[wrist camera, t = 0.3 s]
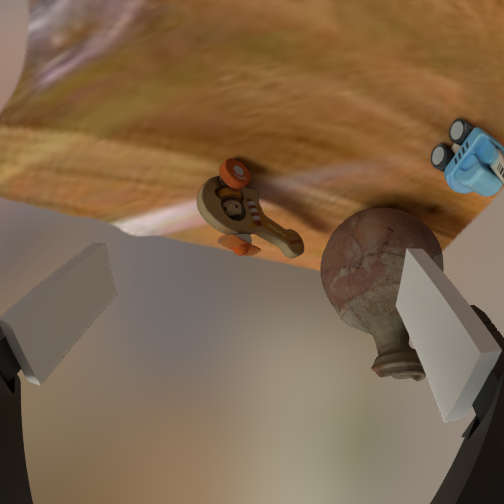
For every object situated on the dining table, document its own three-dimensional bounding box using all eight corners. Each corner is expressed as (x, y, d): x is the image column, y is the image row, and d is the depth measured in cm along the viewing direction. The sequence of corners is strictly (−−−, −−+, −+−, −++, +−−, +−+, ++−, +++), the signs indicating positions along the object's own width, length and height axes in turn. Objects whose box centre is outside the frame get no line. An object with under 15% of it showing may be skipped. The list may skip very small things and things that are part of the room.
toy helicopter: (222, 148, 46) (207, 213, 38) (316, 213, 56) (322, 278, 48) (193, 179, 51) (175, 244, 43) (285, 234, 61) (285, 297, 53)
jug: (295, 210, 56) (297, 382, 38) (407, 161, 44) (468, 342, 26) (346, 267, 69) (356, 402, 51) (435, 235, 57) (470, 375, 40)
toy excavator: (510, 107, 32) (570, 179, 22) (459, 176, 45) (496, 256, 35) (477, 80, 31) (545, 151, 20) (424, 159, 44) (463, 242, 33)
